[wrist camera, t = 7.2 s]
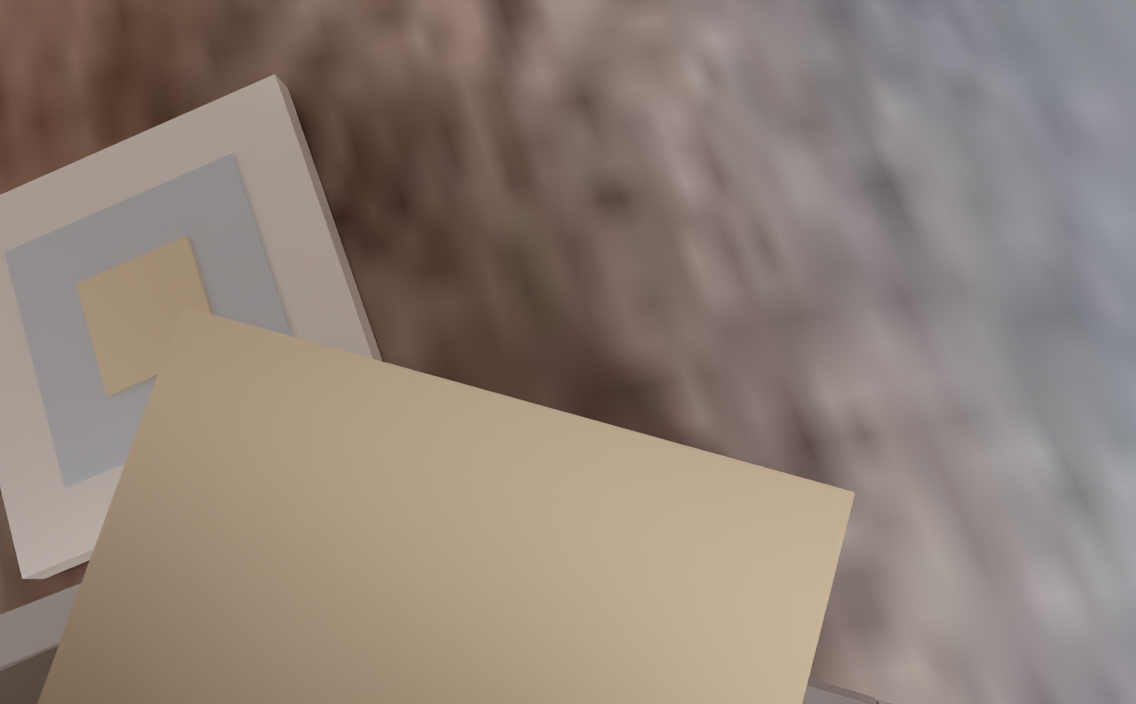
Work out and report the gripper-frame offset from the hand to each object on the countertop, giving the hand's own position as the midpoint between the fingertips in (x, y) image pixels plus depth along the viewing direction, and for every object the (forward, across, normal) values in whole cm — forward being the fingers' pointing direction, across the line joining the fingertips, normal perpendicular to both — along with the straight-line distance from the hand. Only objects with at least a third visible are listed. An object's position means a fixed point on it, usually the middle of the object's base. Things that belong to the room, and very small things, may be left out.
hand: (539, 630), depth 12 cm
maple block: (+3, 0, +4) cm, 5 cm away
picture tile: (+6, +9, +2) cm, 11 cm away
